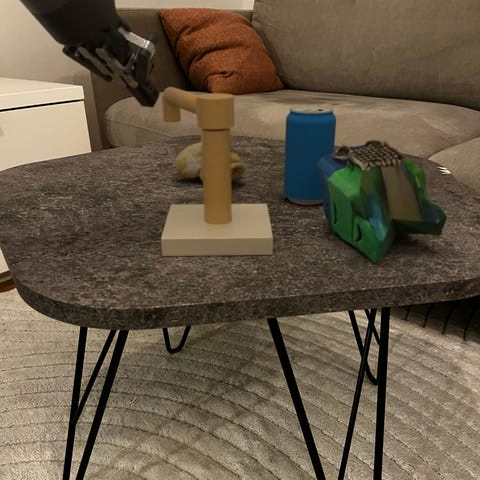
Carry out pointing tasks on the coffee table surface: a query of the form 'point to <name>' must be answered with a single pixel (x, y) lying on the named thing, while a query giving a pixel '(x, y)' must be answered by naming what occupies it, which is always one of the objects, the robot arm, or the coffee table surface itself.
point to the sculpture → (376, 197)
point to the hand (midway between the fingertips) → (151, 100)
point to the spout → (199, 108)
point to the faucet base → (217, 212)
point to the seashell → (192, 163)
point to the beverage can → (307, 151)
